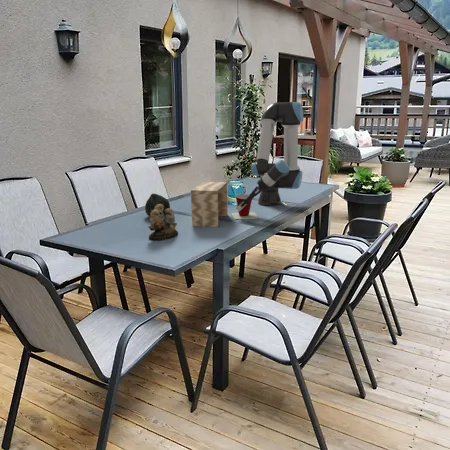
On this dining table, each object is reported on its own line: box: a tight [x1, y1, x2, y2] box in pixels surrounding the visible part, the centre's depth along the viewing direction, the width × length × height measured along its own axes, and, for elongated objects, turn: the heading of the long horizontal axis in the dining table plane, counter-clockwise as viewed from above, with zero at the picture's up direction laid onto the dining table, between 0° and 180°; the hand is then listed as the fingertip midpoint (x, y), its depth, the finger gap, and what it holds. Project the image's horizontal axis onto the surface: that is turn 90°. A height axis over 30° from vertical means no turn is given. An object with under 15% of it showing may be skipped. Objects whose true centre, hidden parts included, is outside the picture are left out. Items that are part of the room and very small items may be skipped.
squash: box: [144, 193, 171, 218], centre depth 266 cm, size 14×15×15 cm
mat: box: [231, 211, 259, 221], centre depth 264 cm, size 14×14×1 cm
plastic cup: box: [235, 193, 253, 216], centre depth 263 cm, size 11×11×12 cm
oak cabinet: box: [190, 181, 229, 228], centre depth 254 cm, size 14×26×20 cm, turn 167°
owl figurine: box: [147, 204, 179, 241], centre depth 226 cm, size 18×12×17 cm, turn 144°
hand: (239, 207), depth 264 cm, fingers closed on plastic cup, 10 cm apart
